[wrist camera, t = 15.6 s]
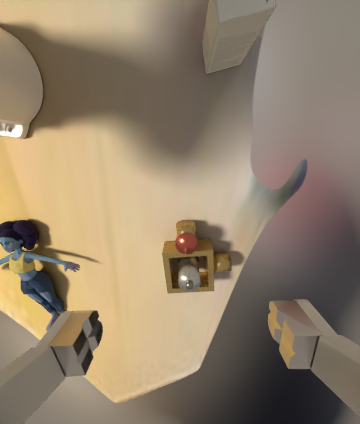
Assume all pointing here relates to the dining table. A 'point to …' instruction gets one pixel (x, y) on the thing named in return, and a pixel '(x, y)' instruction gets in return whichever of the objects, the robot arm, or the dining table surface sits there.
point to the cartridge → (189, 273)
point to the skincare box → (232, 30)
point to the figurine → (31, 265)
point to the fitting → (189, 248)
